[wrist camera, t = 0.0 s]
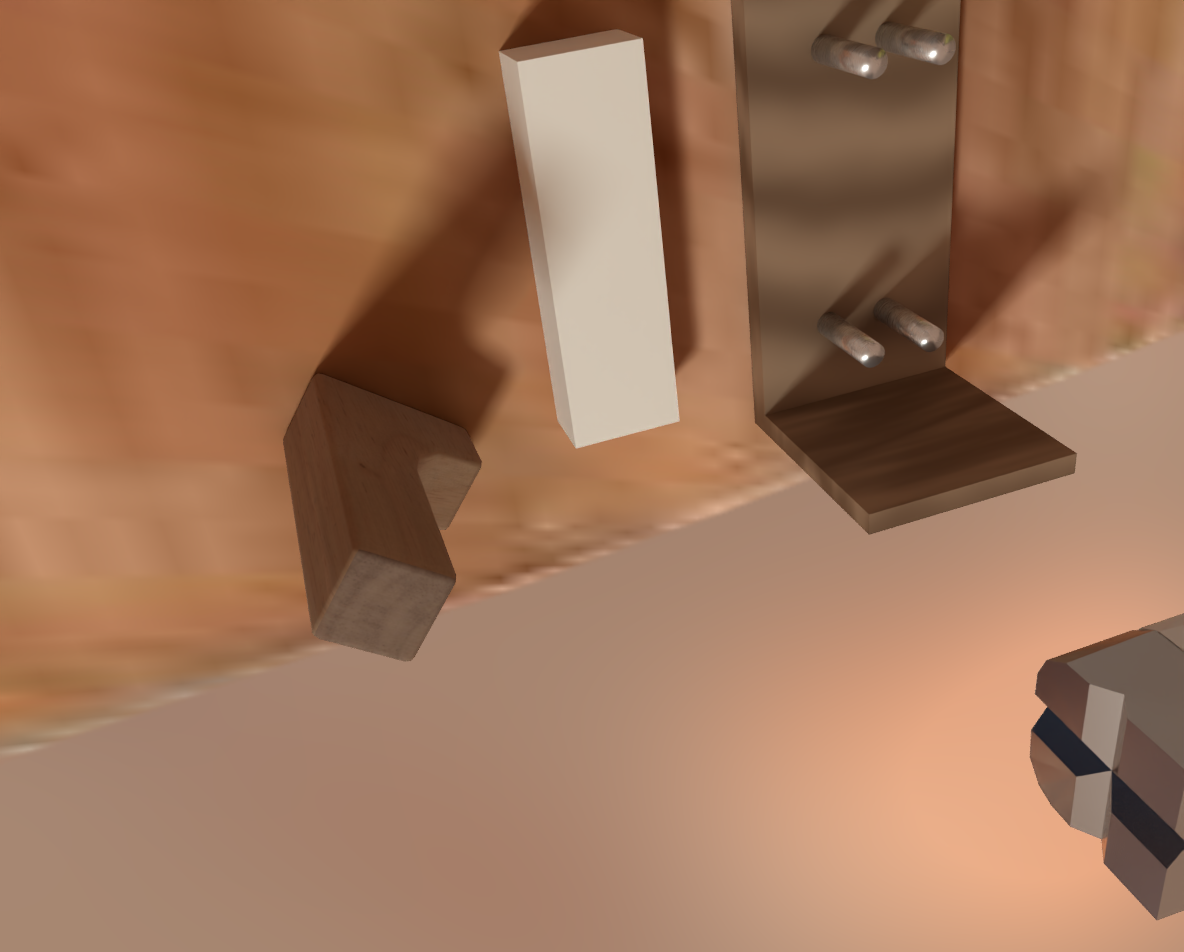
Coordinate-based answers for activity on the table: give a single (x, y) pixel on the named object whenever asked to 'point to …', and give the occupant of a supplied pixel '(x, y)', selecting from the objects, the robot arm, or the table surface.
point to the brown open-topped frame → (864, 260)
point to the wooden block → (374, 514)
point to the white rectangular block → (594, 230)
